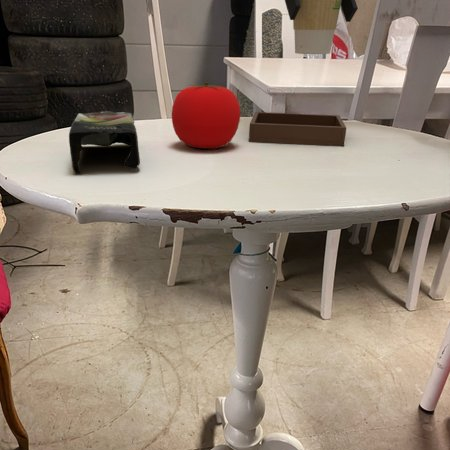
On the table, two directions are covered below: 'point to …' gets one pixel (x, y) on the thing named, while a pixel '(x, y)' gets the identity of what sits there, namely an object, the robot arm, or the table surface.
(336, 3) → the coffee cup
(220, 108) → the tomato
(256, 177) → the table surface
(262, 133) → the serving tray
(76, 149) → the black box
